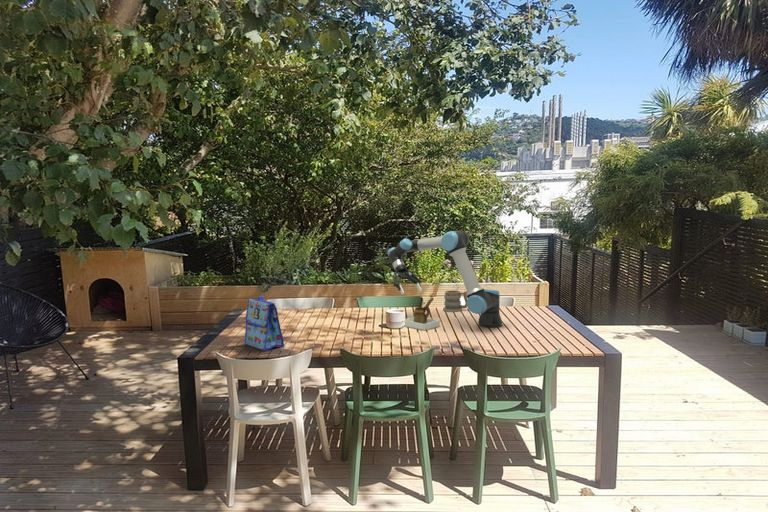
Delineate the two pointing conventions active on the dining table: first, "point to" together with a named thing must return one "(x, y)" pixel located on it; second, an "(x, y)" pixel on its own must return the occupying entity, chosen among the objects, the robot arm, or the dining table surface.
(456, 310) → the tankard
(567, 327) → the dining table surface
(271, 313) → the lunch bag
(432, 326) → the mug tray
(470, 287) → the robot arm
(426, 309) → the wooden mug
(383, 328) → the dining table surface
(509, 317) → the dining table surface
